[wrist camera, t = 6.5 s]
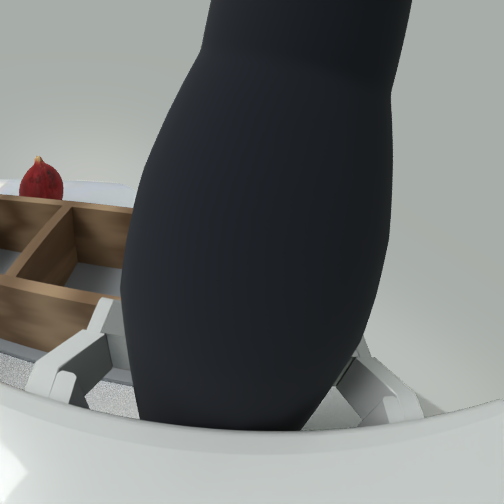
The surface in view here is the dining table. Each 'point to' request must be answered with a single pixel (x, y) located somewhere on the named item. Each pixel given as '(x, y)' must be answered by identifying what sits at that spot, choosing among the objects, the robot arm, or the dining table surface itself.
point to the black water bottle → (264, 214)
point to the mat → (80, 279)
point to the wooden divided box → (54, 265)
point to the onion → (41, 182)
